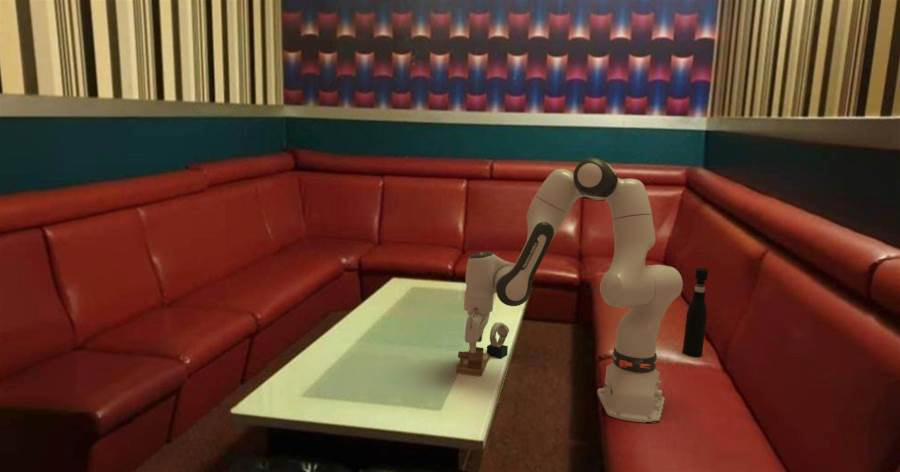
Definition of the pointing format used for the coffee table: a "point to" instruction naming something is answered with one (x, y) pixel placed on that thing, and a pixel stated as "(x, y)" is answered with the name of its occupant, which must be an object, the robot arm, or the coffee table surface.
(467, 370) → the board
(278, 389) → the coffee table surface
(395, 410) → the coffee table surface
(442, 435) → the coffee table surface
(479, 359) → the brown stepped block
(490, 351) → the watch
